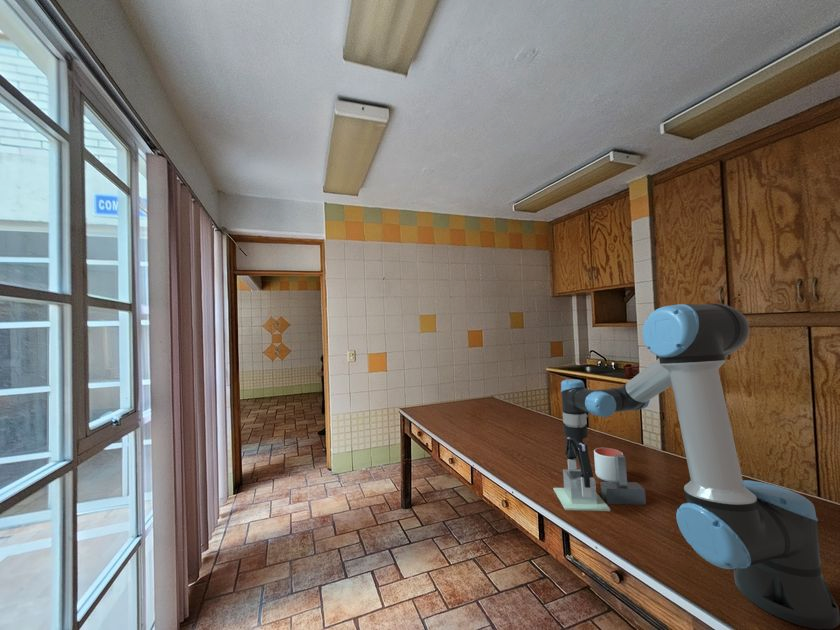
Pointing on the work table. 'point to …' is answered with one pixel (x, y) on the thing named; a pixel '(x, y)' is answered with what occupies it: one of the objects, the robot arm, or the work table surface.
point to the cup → (605, 463)
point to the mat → (583, 507)
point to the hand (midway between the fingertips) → (579, 486)
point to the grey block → (622, 487)
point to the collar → (577, 487)
